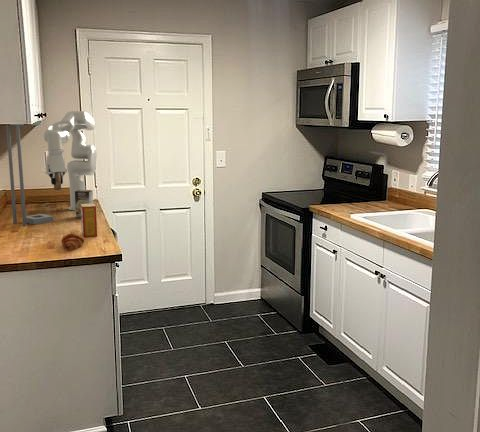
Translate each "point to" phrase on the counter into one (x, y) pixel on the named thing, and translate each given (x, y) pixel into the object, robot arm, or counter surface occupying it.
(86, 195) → the coffee box
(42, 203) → the counter surface
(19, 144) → the grey two-post stand
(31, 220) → the socket
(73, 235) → the croissant
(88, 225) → the baking soda box
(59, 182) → the peg
